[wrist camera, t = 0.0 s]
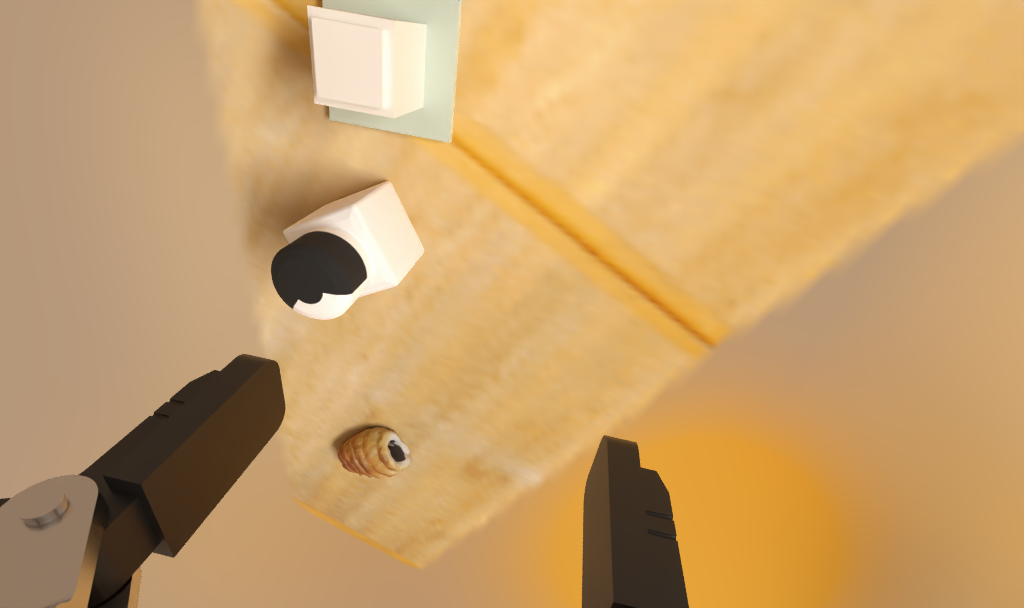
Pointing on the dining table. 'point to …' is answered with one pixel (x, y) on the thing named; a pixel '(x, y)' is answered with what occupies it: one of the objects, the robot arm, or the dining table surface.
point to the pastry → (375, 453)
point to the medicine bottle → (345, 252)
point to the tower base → (435, 67)
